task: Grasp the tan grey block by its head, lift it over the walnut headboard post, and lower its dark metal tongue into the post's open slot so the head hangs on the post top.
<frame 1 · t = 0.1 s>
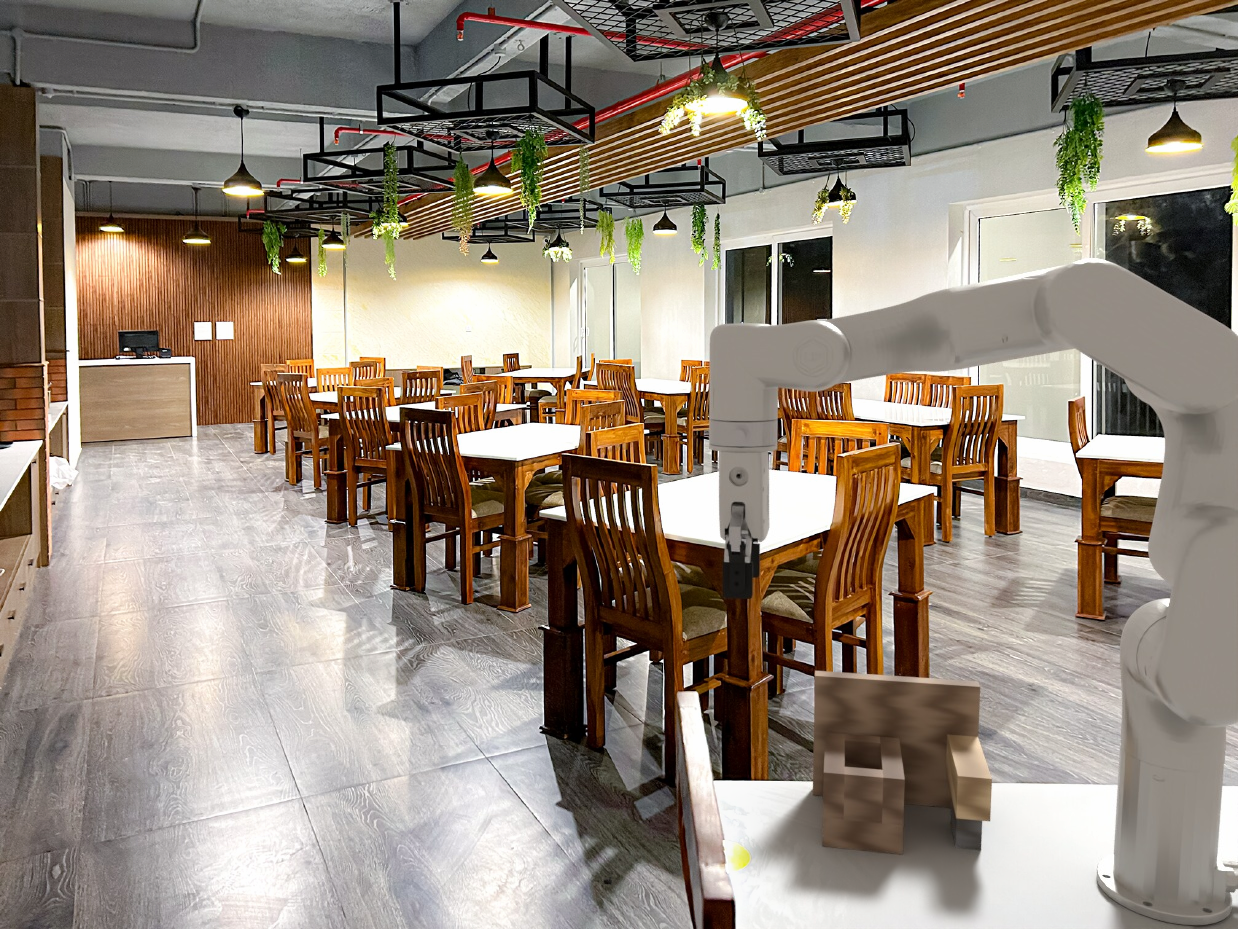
hand: (741, 586, 111), 31 cm above the table, fingers open, 9 cm apart
headboard: (861, 825, 119), on the table
tan grey block: (965, 836, 116), on the table
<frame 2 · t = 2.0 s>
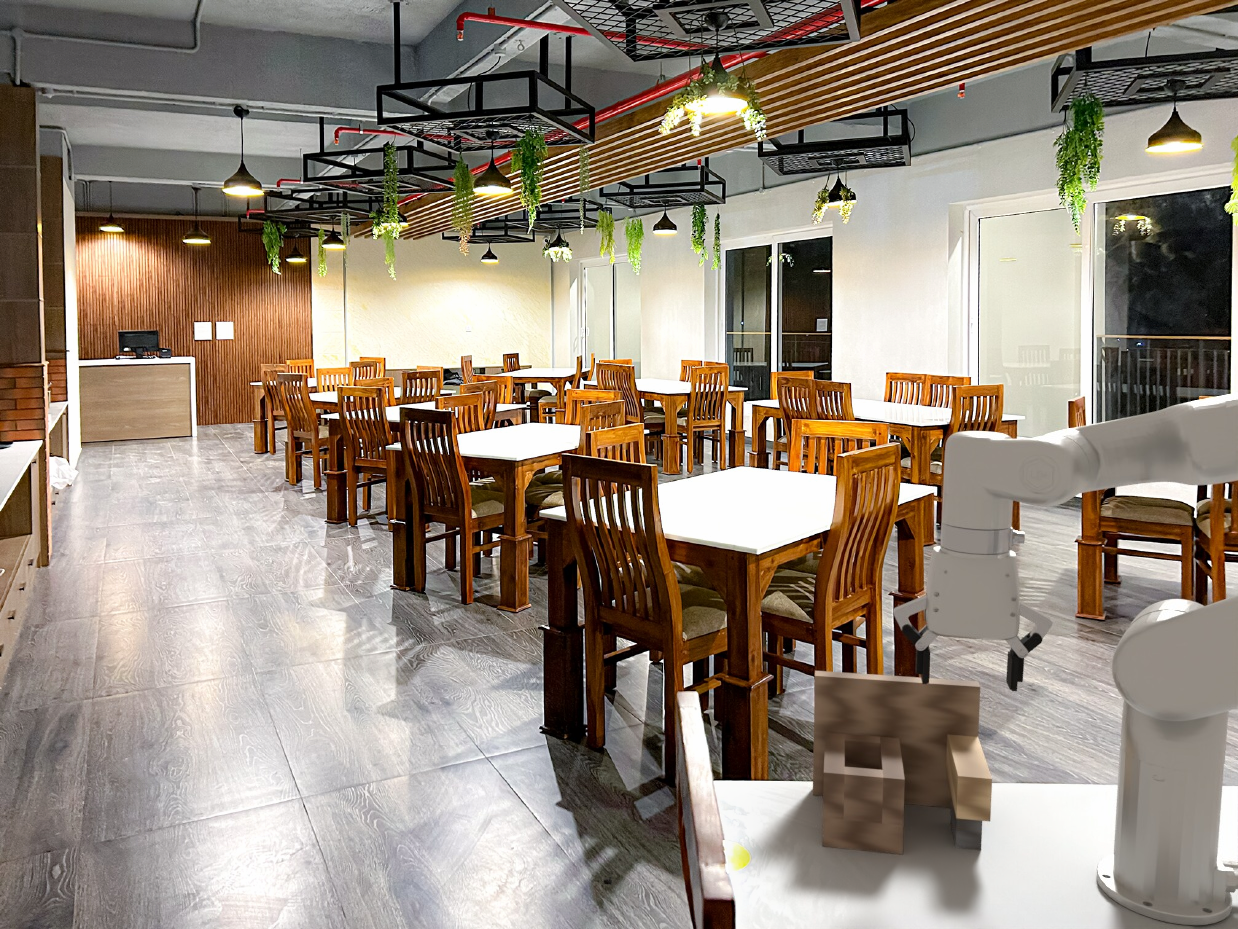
hand: (967, 683, 114), 19 cm above the table, fingers open, 9 cm apart
nothing on the table moved.
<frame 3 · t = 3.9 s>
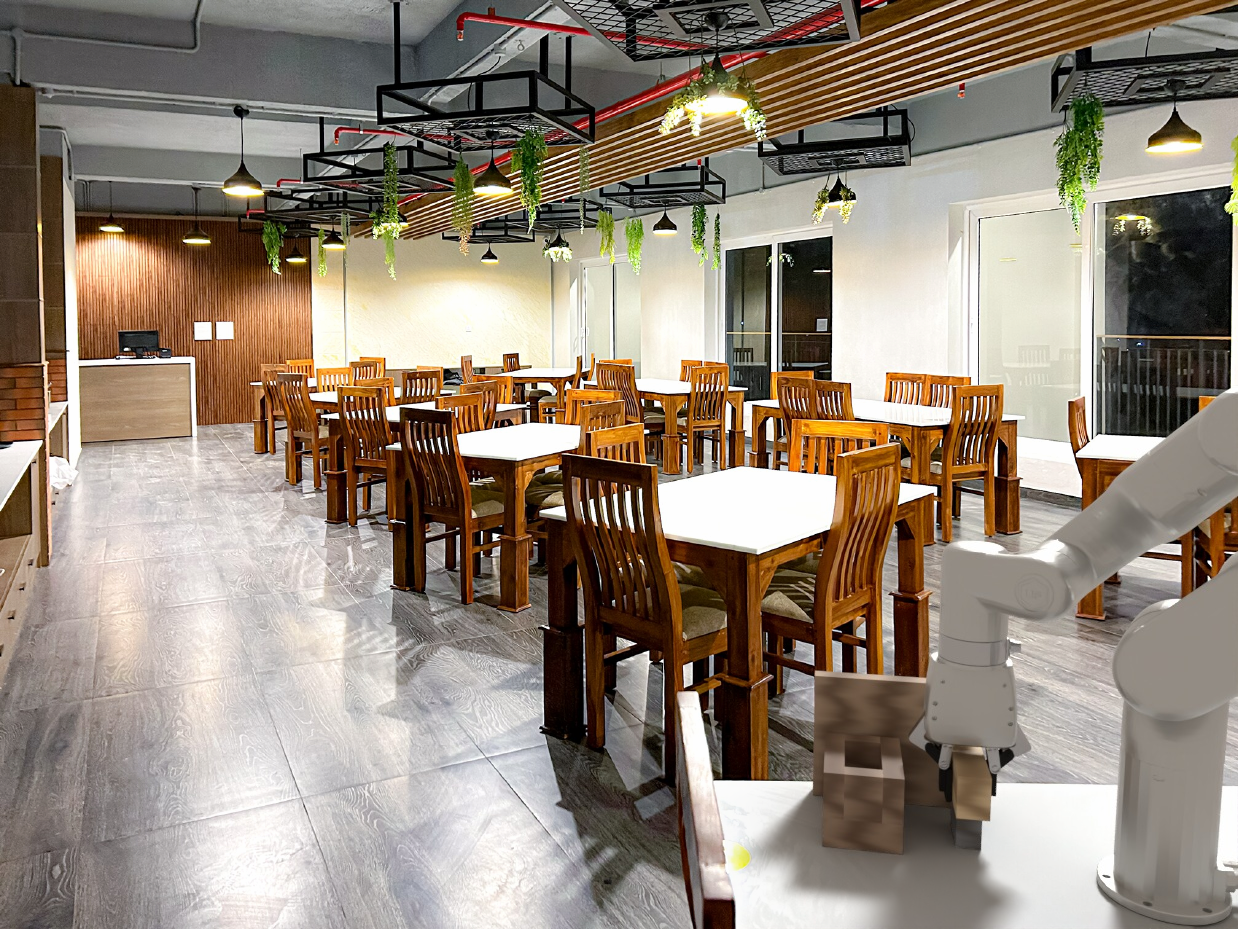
hand: (966, 797, 116), 5 cm above the table, fingers closed on tan grey block, 3 cm apart
tan grey block: (965, 836, 116), on the table, touching gripper
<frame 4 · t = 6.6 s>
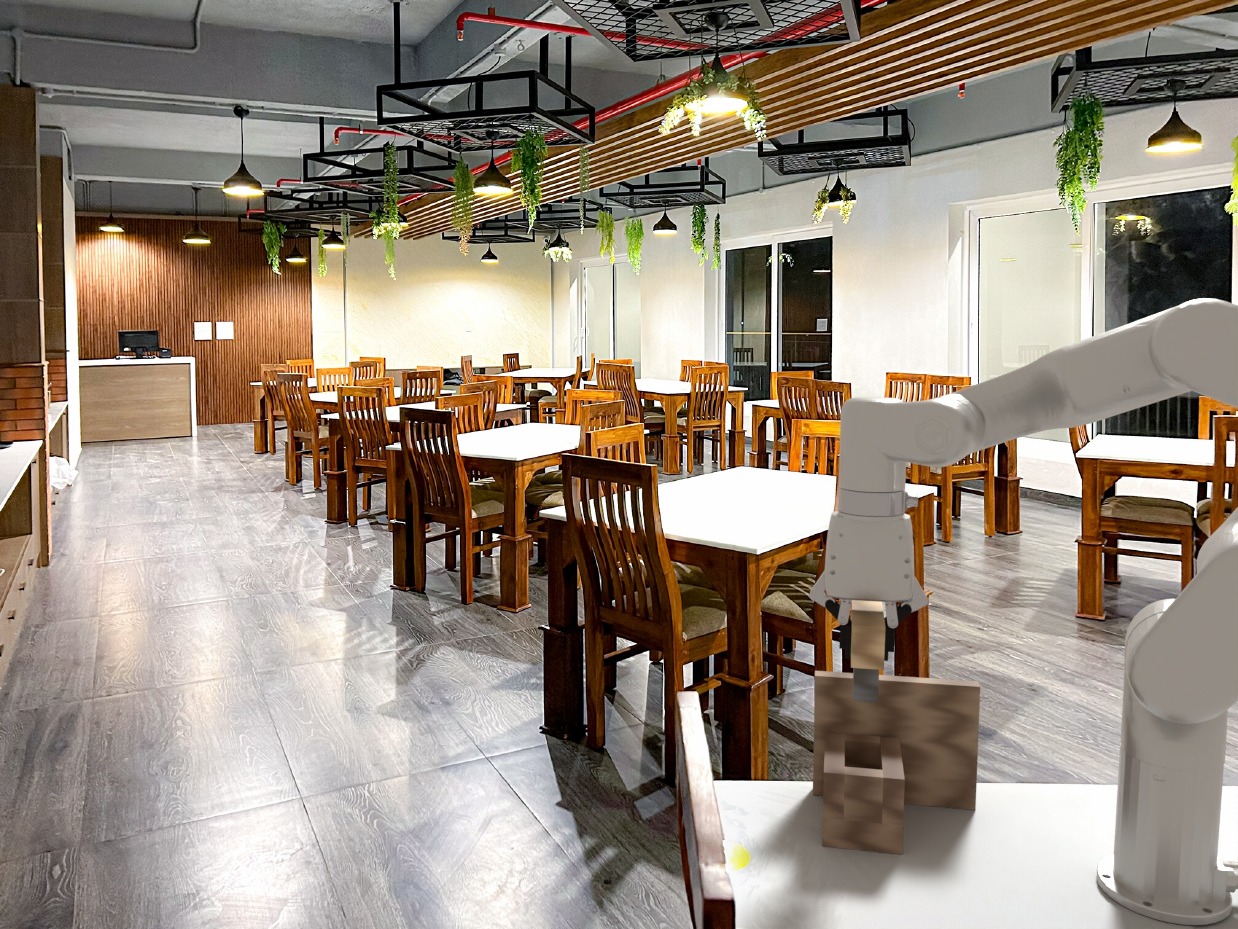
hand: (866, 654, 116), 21 cm above the table, fingers closed on tan grey block, 3 cm apart
tan grey block: (865, 693, 117), point 17 cm above the table, touching gripper
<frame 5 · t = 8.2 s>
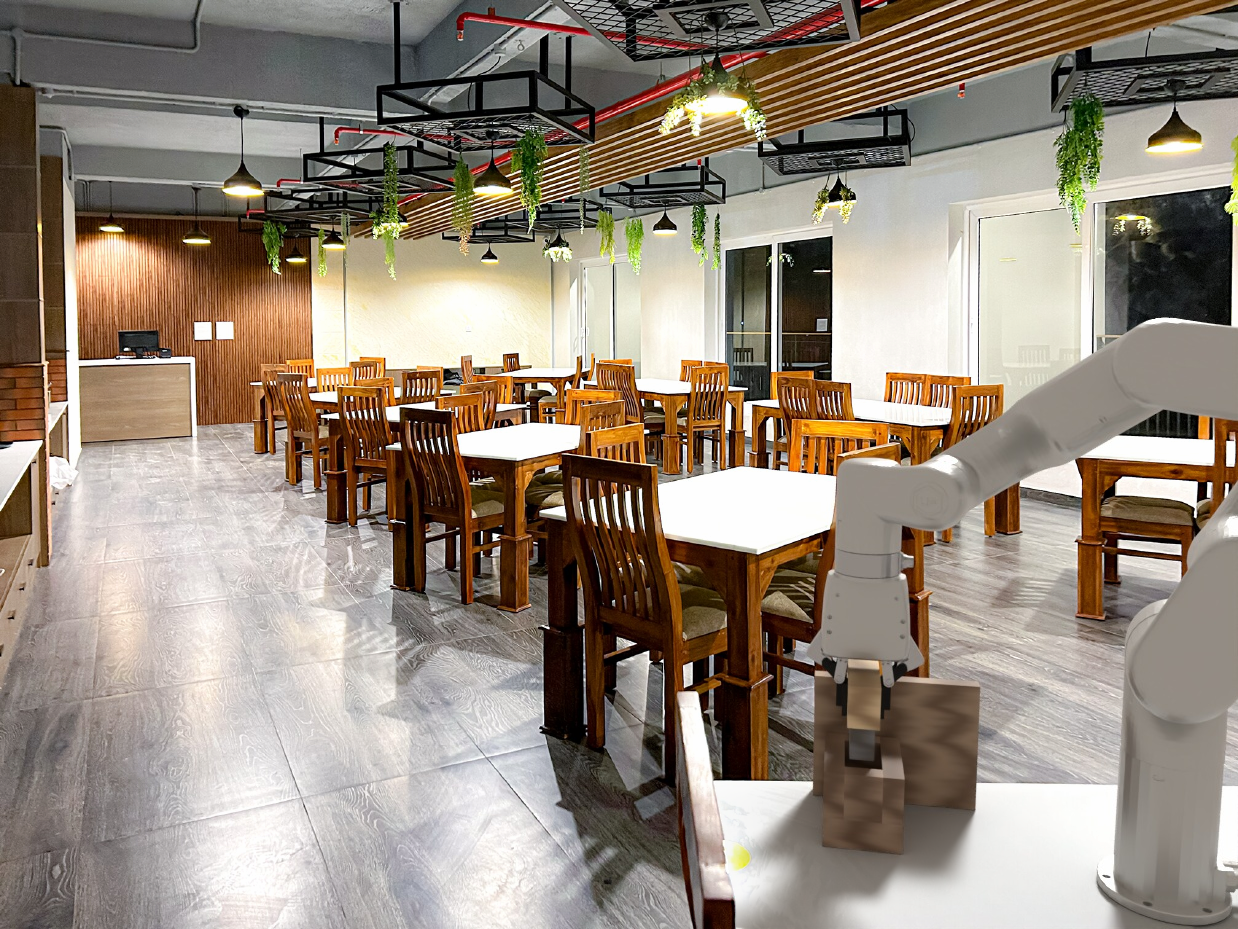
hand: (862, 712, 117), 14 cm above the table, fingers closed on tan grey block, 3 cm apart
tan grey block: (861, 750, 118), point 10 cm above the table, touching gripper
when the fingers open (10 cm above the table, at t = 9.5 s): tan grey block drops 1 cm, resting on headboard.
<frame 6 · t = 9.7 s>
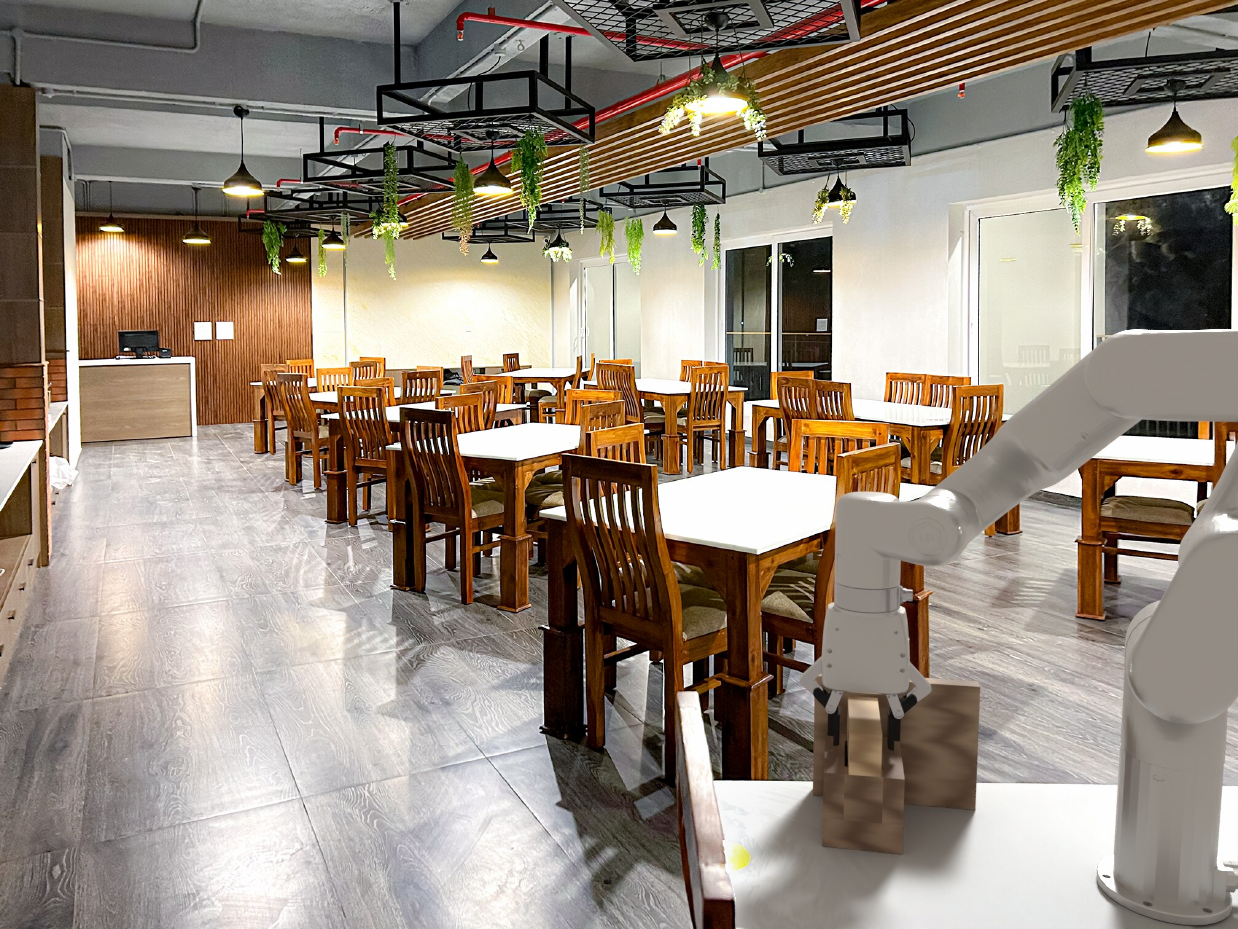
hand: (863, 742, 118), 11 cm above the table, fingers open, 5 cm apart
tan grey block: (862, 794, 119), point 4 cm above the table, touching headboard
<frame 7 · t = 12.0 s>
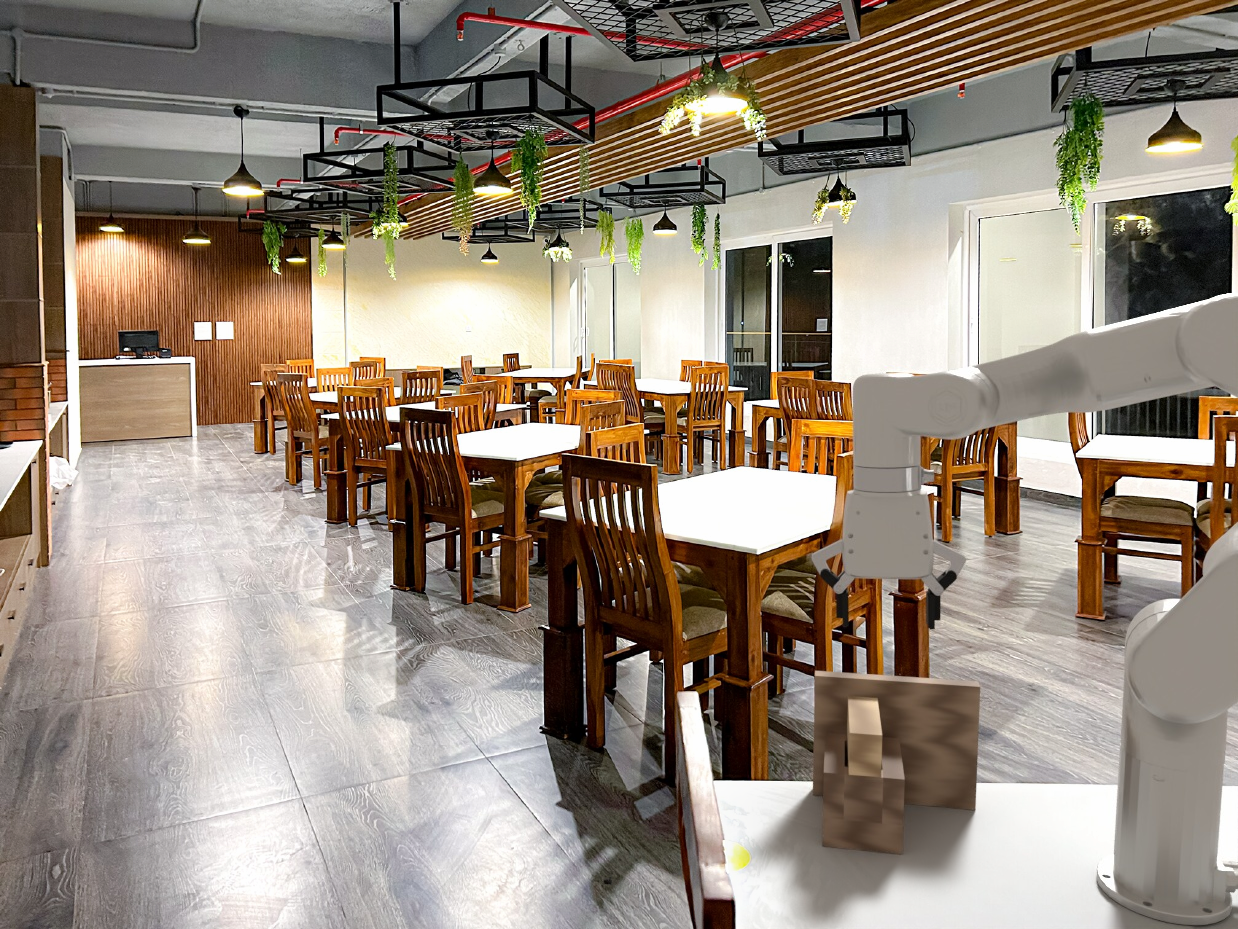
hand: (887, 625, 115), 25 cm above the table, fingers open, 9 cm apart
nothing on the table moved.
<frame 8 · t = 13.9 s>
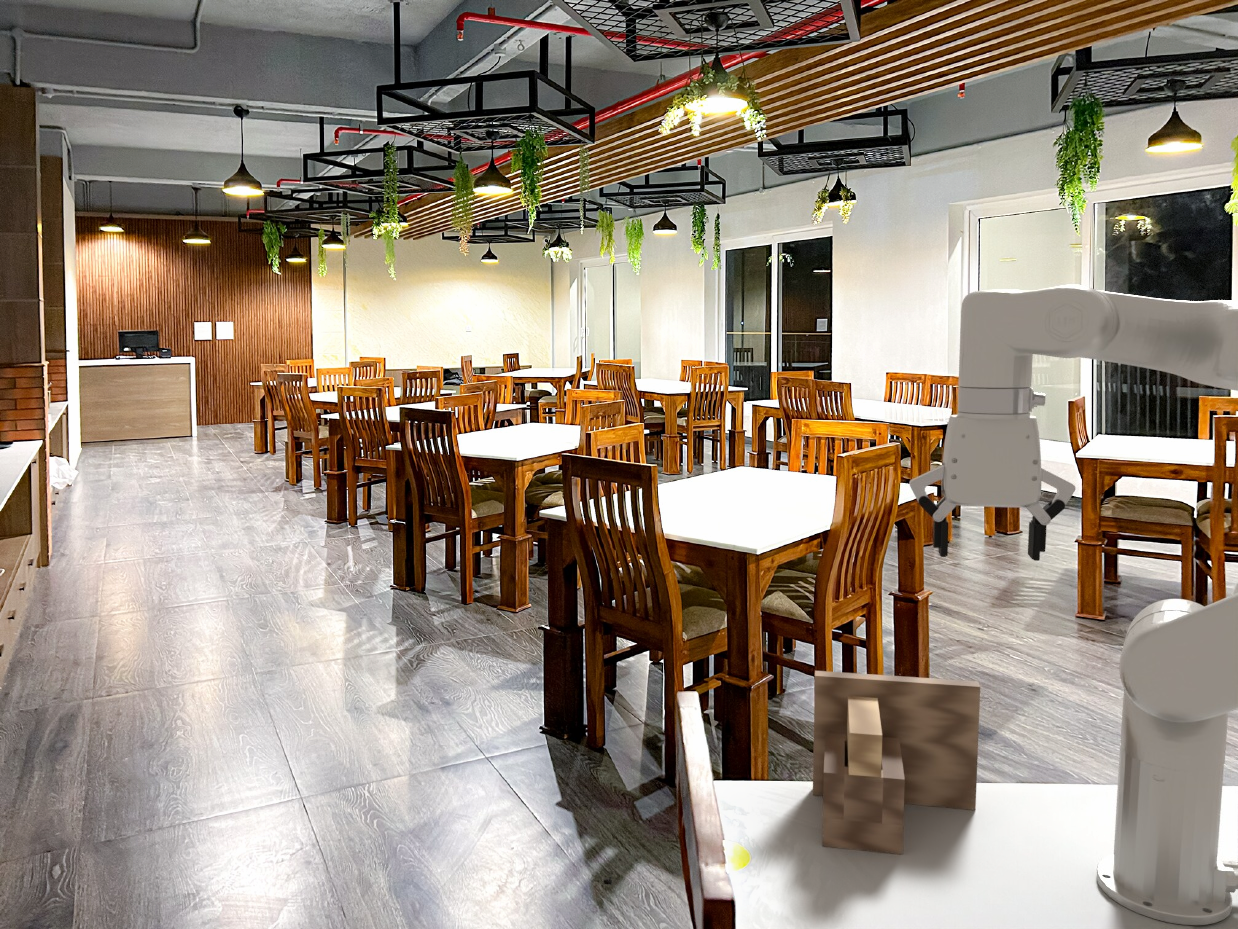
hand: (987, 556, 110), 34 cm above the table, fingers open, 9 cm apart
nothing on the table moved.
at the end: tan grey block 0.0 cm off-centre on the headboard, point 4.0 cm above the headboard's base; tan grey block tilted 0°; the gripper is holding nothing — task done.
